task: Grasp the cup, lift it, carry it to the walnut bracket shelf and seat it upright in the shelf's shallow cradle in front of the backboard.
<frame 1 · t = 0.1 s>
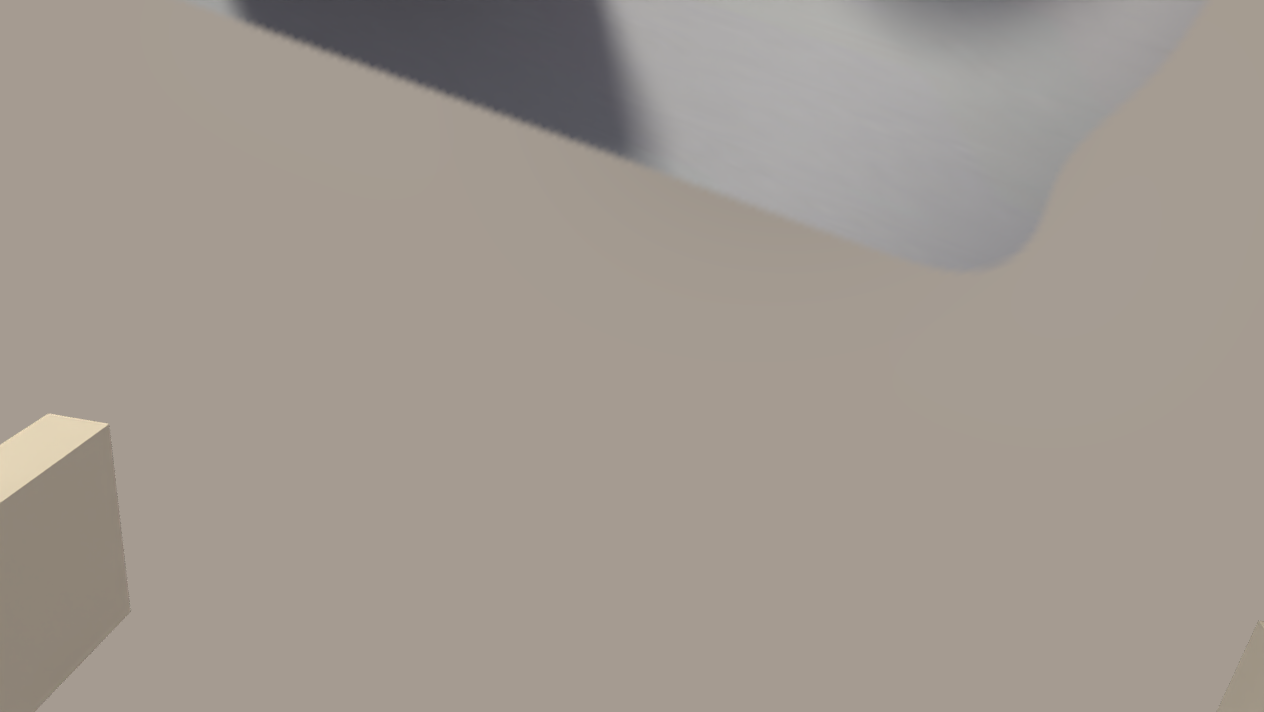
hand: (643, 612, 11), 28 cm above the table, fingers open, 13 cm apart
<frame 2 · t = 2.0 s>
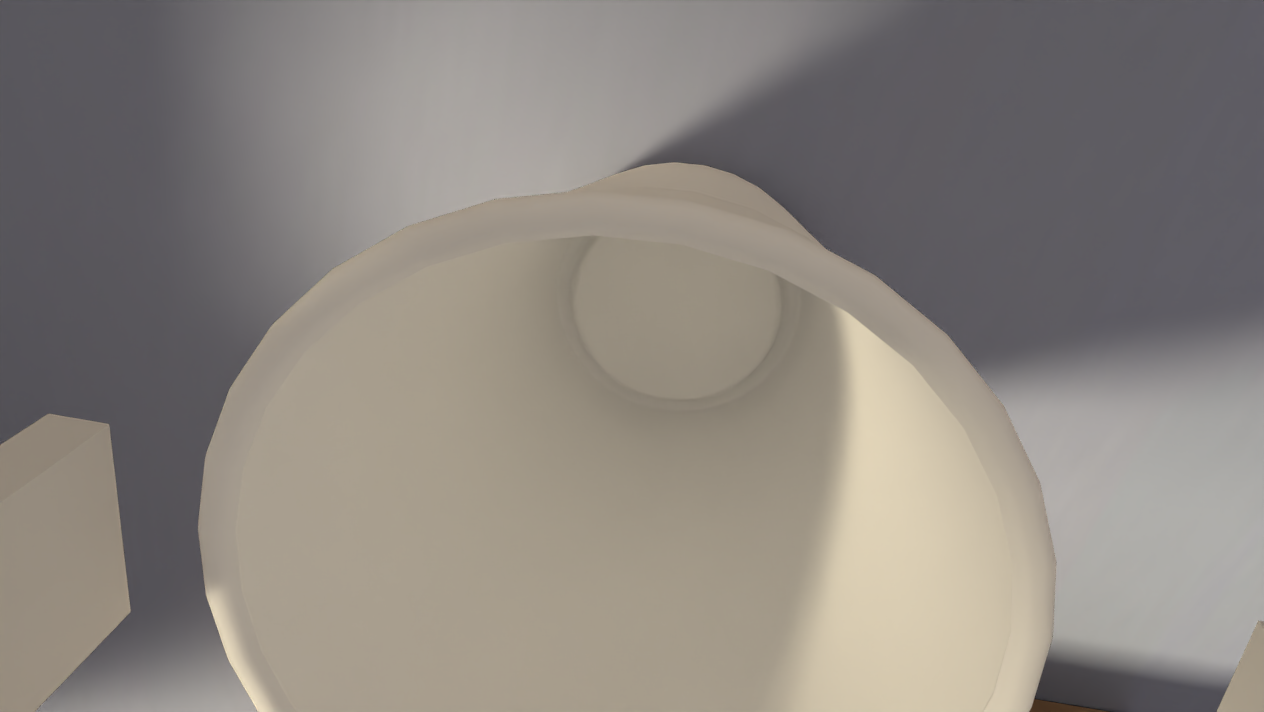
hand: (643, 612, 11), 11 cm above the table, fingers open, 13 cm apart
cup: (677, 296, 22), on the table
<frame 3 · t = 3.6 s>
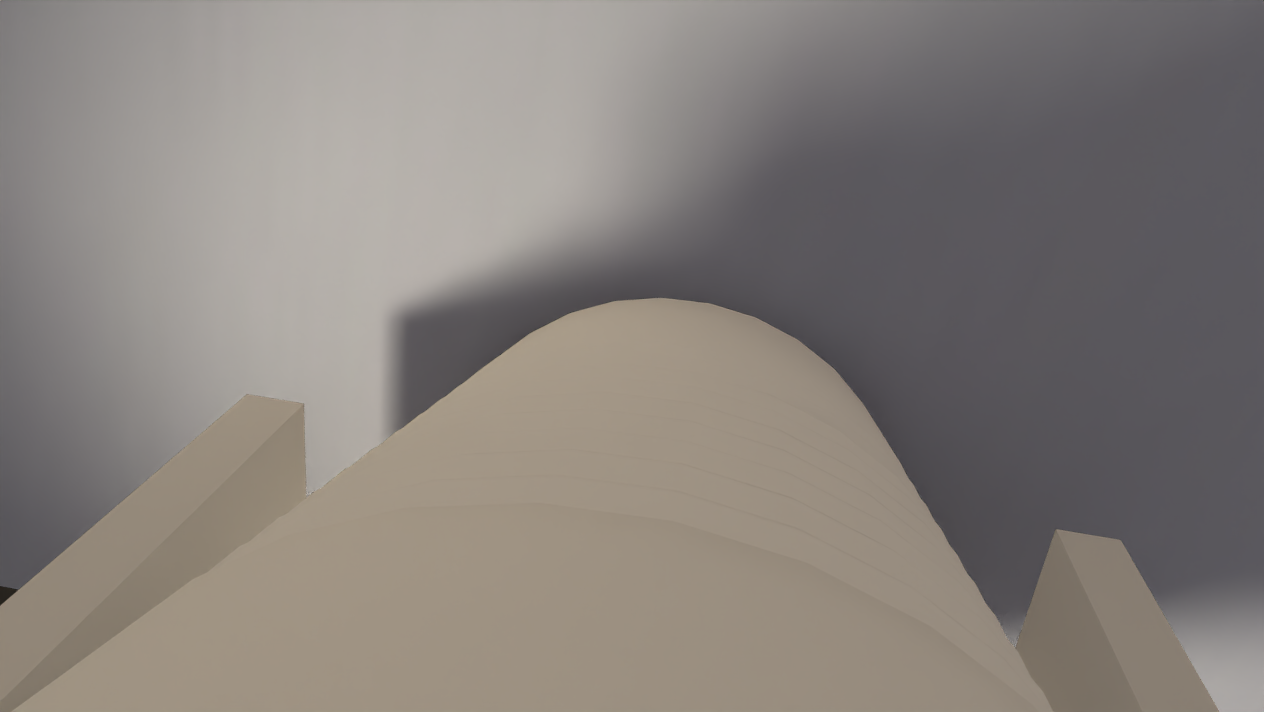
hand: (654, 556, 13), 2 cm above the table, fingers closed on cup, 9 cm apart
cup: (669, 485, 14), on the table, touching gripper
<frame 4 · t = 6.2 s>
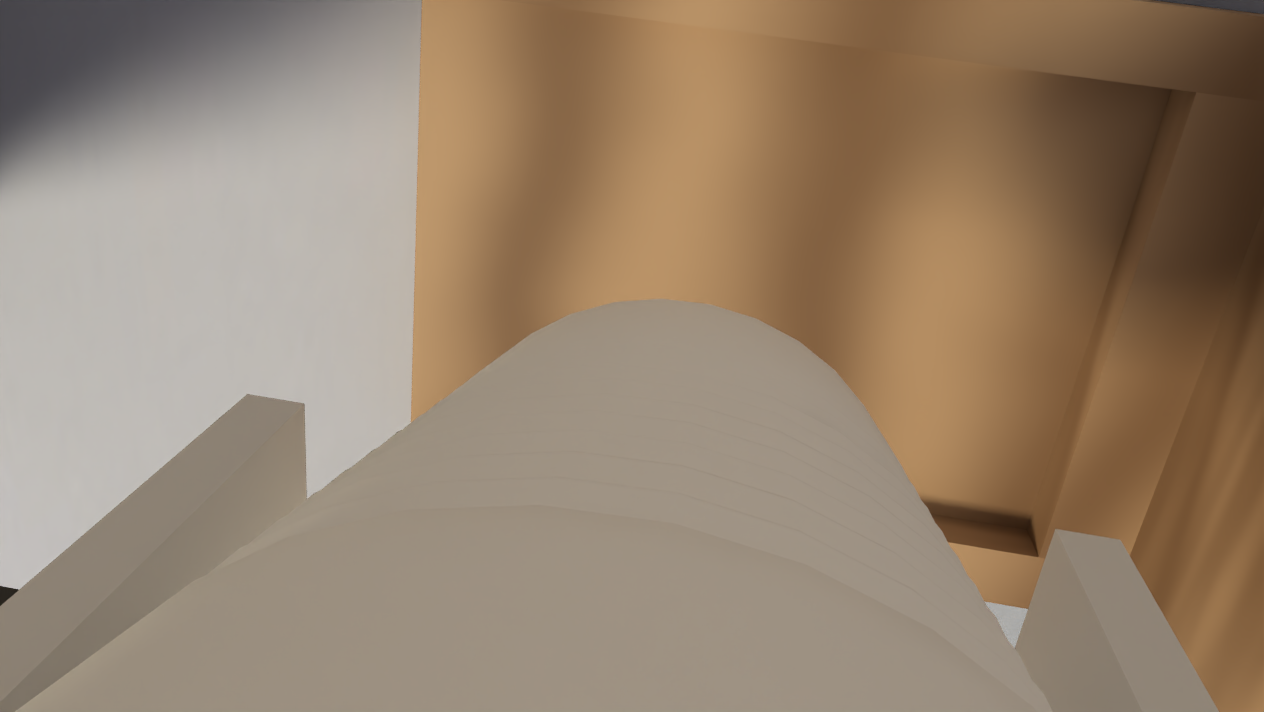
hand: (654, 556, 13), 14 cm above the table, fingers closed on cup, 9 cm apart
bracket shelf: (786, 251, 25), on the table
cup: (669, 486, 14), point 12 cm above the table, touching gripper
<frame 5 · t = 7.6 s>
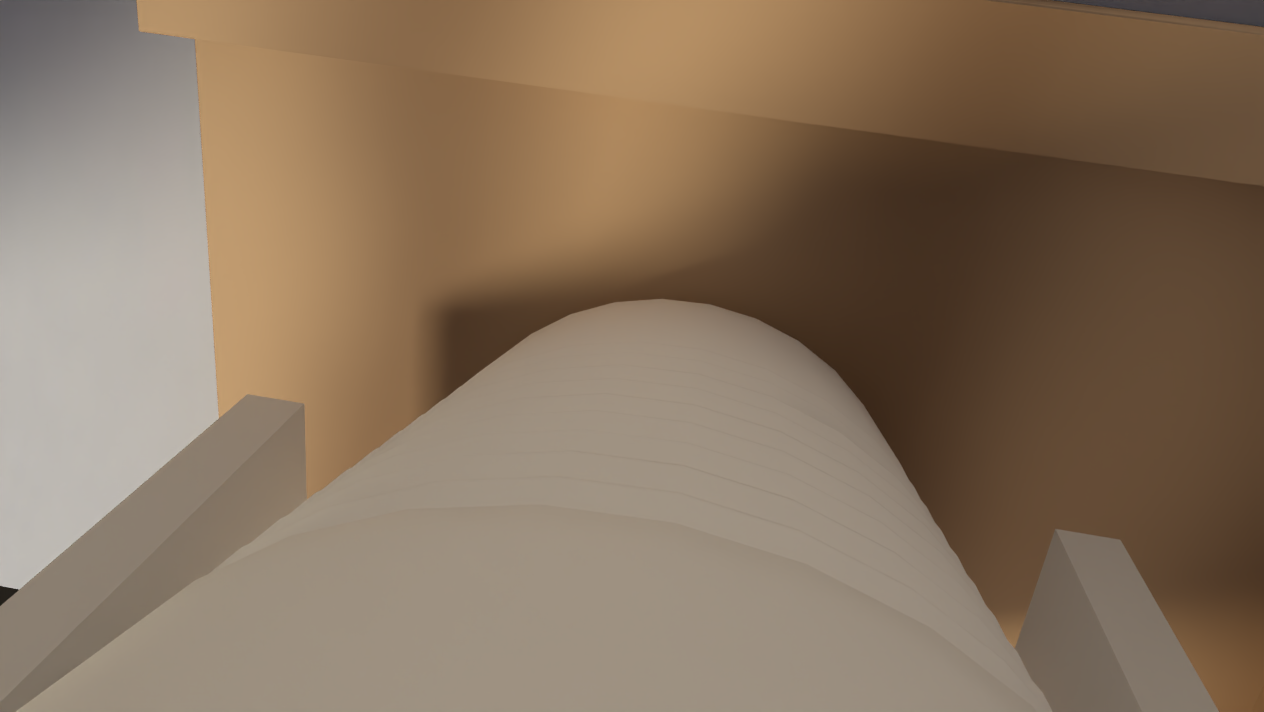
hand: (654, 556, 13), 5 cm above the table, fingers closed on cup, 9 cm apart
bracket shelf: (804, 423, 17), on the table
cup: (669, 486, 14), point 3 cm above the table, touching gripper
when the fingers open (4 cm above the table, at t = 8.6 s): cup stays where it is, resting on bracket shelf.
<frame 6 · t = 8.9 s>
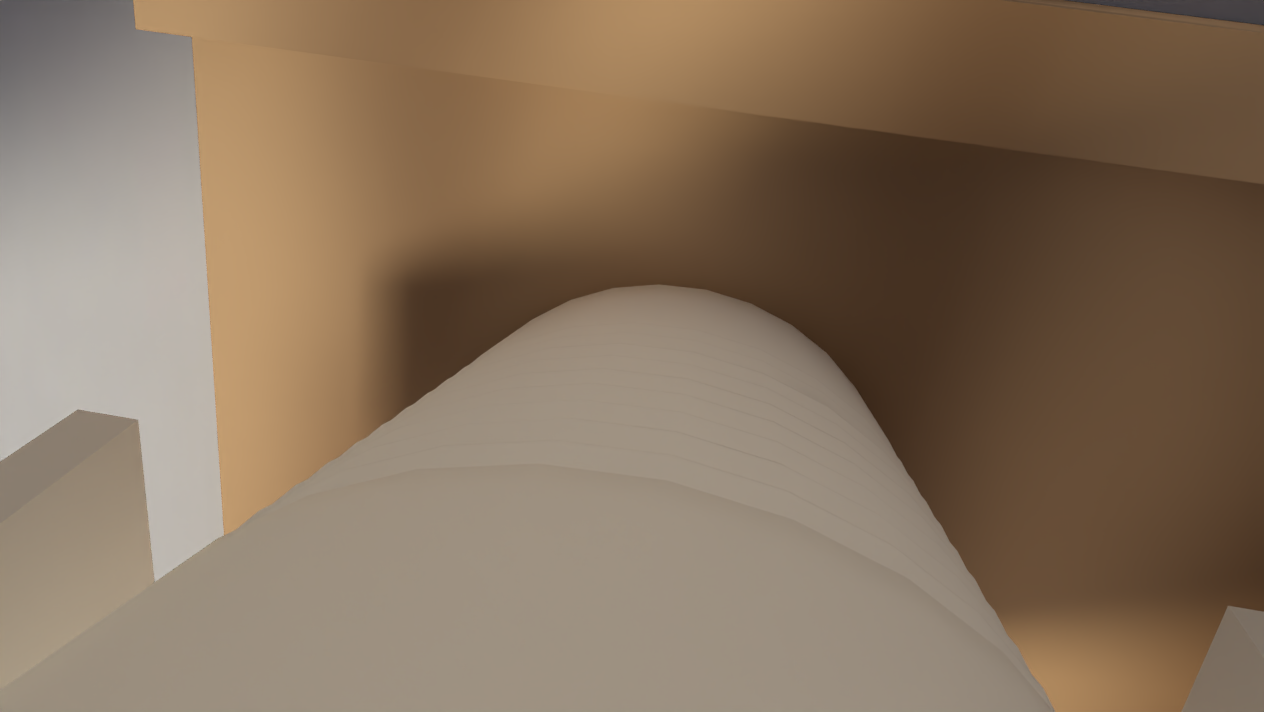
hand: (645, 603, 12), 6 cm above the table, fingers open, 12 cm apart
bracket shelf: (802, 422, 17), on the table
cup: (667, 468, 15), point 2 cm above the table, touching bracket shelf
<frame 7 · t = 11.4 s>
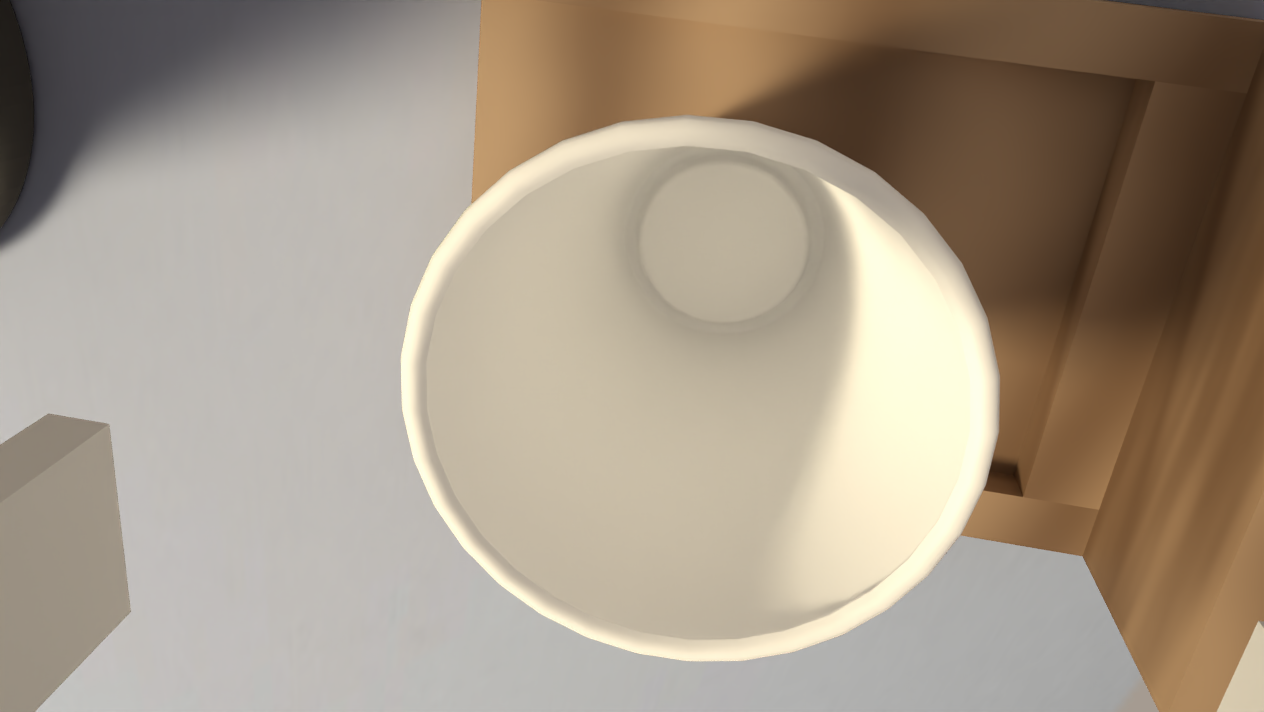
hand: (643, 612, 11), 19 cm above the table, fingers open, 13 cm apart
bracket shelf: (799, 227, 28), on the table
cup: (724, 237, 26), point 2 cm above the table, touching bracket shelf
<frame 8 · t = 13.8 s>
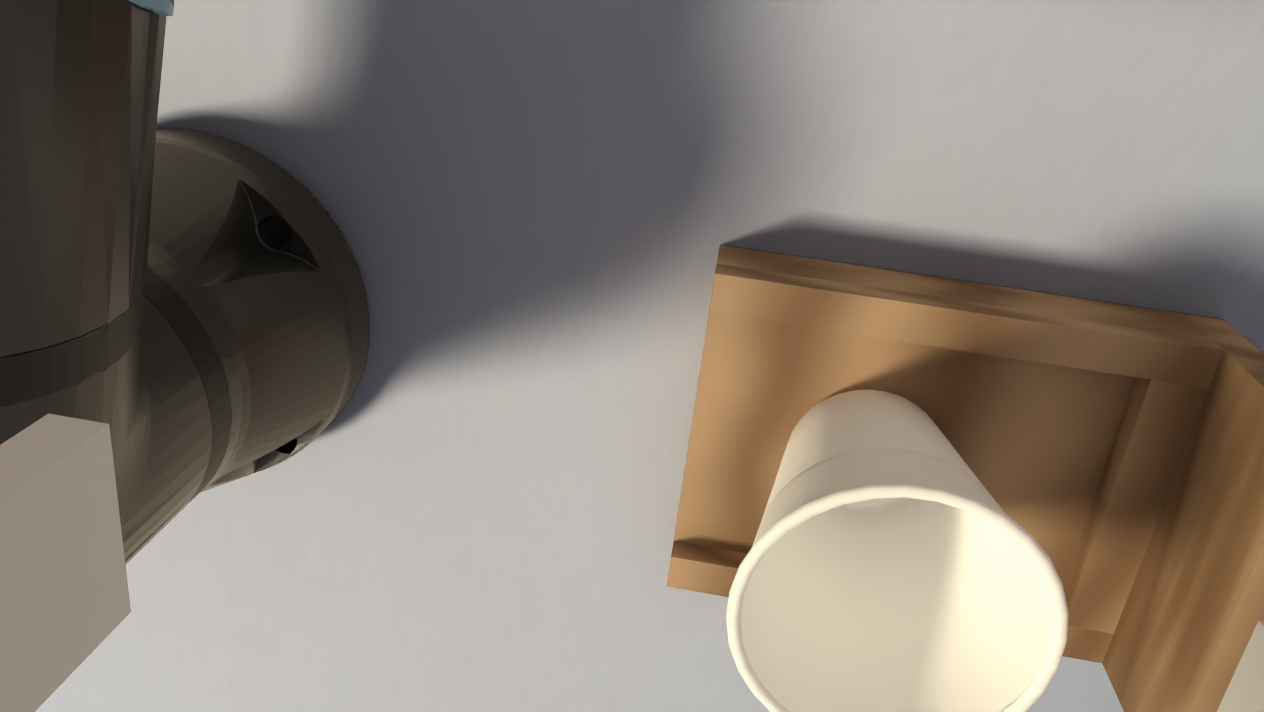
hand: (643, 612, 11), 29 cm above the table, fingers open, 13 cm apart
bracket shelf: (907, 435, 41), on the table
cup: (863, 452, 39), point 2 cm above the table, touching bracket shelf
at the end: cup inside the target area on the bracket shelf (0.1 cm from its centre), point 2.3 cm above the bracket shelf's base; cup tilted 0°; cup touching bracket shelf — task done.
